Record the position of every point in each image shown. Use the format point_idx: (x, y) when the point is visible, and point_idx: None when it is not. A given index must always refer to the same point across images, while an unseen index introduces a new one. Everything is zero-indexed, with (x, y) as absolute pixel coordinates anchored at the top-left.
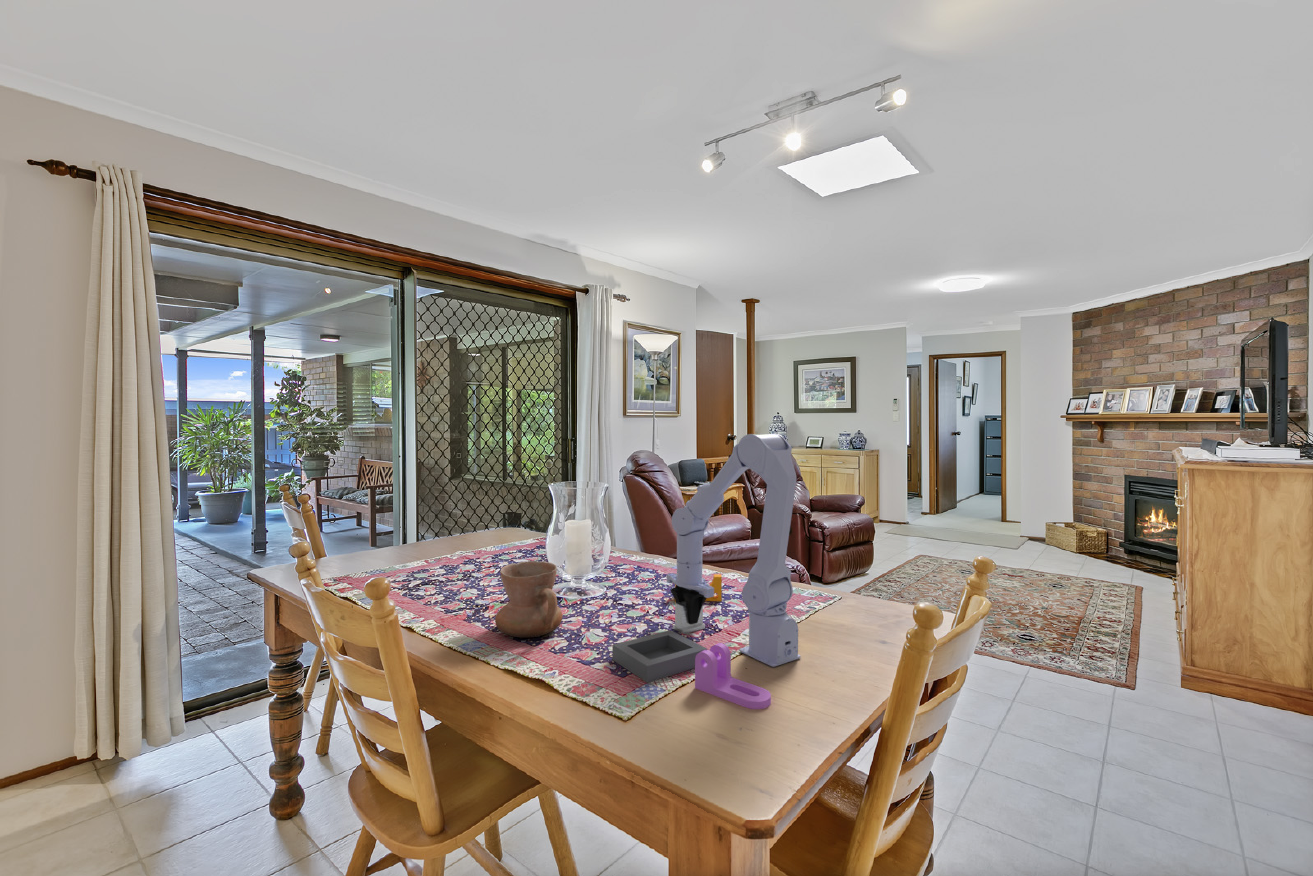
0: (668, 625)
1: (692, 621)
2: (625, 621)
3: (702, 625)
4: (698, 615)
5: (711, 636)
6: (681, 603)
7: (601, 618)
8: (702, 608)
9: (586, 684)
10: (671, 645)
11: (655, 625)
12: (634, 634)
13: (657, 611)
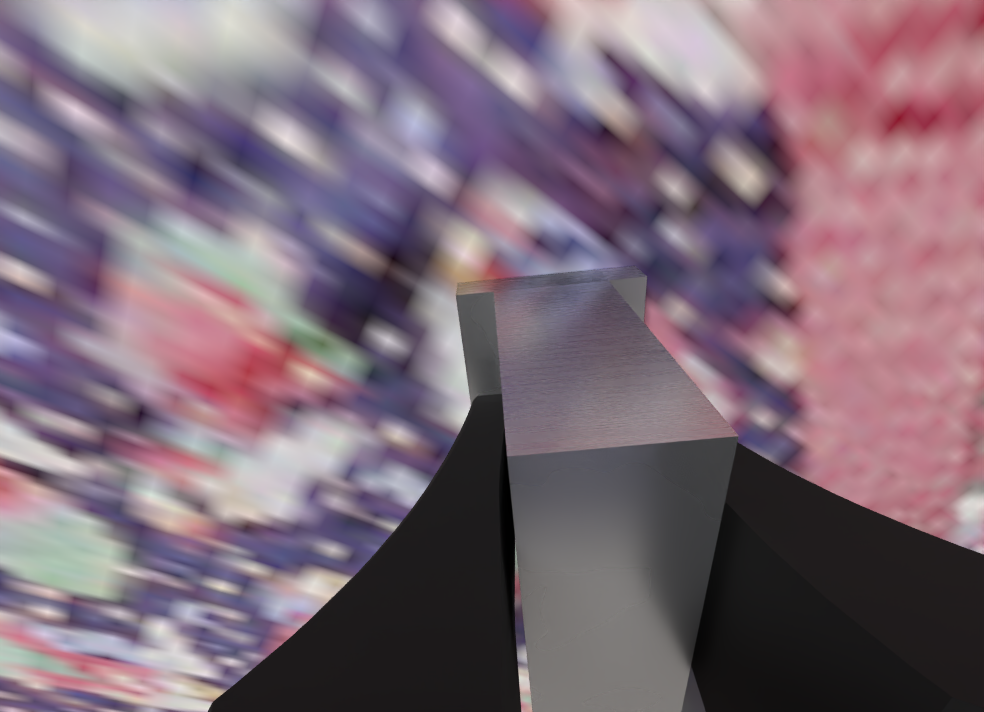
0: (405, 476)
1: None
2: (227, 634)
3: (641, 307)
4: None
5: (812, 323)
6: (597, 700)
7: (141, 696)
8: (673, 368)
9: None
10: None
11: (366, 540)
12: None
13: (17, 403)
